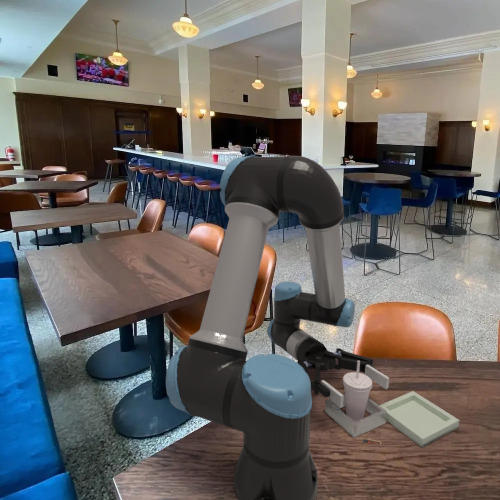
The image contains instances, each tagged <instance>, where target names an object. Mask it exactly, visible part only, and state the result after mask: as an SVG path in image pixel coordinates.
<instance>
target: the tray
mask: <svg viewBox="0 0 500 500" xmlns="http://www.w3.org/2000/svg"><path fill="white" fill-rule="evenodd" d="M378 405H379V404H378ZM379 406H381V407H382V408H383V409H385V410H386V411H387V419H386V422H388V423H389V424H390V425H392V427H394V428H396V429H397V430H398V431H399V432H401V433H402V434H404V435H405V436H406V437H407V438H409V439H410V440H411V441H412V442H414V443H415V444H417V445H418V446H419V447H421V448H424V447H426V446H427V445H429V444H432V443H434V442H435V441H436V440H439V439H440V438H442V437H444V436H446V435H448V434H450V433H452V432H454V431H455V430H458V429H459V426H460V419H458V418H457V417H455V416H454V415H452V414H451V413H449V412H447V411H446V410H444V409H443V408H441V407H440V406H438V405H436V404H434V403H433V402H431V401H430V400H428V399H426V398H425V397H423V396H422V395H420V394H418V393H417V392H415V391H414V390H412V391H410V392H407V393H405V394H403V395H400V396H399V397H396V398H393V399H391V400H389V401H386V402H384V403H382V404H380V405H379Z"/></svg>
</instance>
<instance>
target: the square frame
mask: <svg viewBox="0 0 500 500" xmlns="http://www.w3.org/2000/svg"><path fill="white" fill-rule="evenodd" d="M341 394H342V395H344V398H343V407H341V408H340V407H339V406H337V405H336V404H335V403H334V402H333V401H331V400H330V399H329V398H328V399H326V400H325V401H324V404H325V405H324V413H325V414H327V415H328V416H329V417H330V418H331V419H333V420H334V422H335V423H337V424H338V425H339V426H340V427H341V428H342V429H344V430H345V432H347V433H348V434H349V435H350V436H351V437H352V438H357V437H359V436H361V435H363V434H365V433H368V432H369V431H372V430H375V429H376V428H378V427H380V426H383V425H385V424H386V423H387V421H386V419H387V411H386V410H385V409H383V408H382V407H381V406H379V404H377V403H376V402H375V401H374V400H372V398H370V397H368V400H367V405H366V409H365V412H368V413H369V414H370V415H368V416H366V417H364V418H363V419H361V420H359V421H357V422H354V421H353V420H352V419H351V418H349V417H348V416H347V415H346V412H344V411H342V410H341V409H342V408H344V407H345V408H346V402H345V392H344V393H341Z"/></svg>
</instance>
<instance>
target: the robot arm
mask: <svg viewBox="0 0 500 500" xmlns="http://www.w3.org/2000/svg"><path fill="white" fill-rule="evenodd" d="M219 188H220V192H219V196H220V200H221V202H222V204H223V206H224V212H225V214H226V215H227V217H228V219H229V220H228V221H227V222H228V223H227V225H226V226H227V227H226V231H225V234H224V237H223V242H222V246H221V248H220V249H221V250H220V253H219V256H218V259H217V265H216V268H215V271H214V275H213V279H212V283H211V286H210V290H209V293H208V294H209V295H208V298H207V301H206V305H205V309H204V311H203V312H204V313H203V316H202V320H201V324H200V326H199V327H200V328H199V330H198V331H196V332H195V333H193V334H192V335H190V336H189V337H188V338H189V339H188V341H187V344H186V345H183V346H180V347H179V348H178V349H177V350H175V352H174V355H172V356H171V358H170V361H169V363H168V366H167V369H166V374H165V375H166V376H165V388H166V394H167V396H168V400H169V402H170V403H171V405H172V406H173V407H174V408H176V409H178V410H180V411H183V412H184V413H186V414H188V415H189V416H191V417H198V418H201V419H204V420H206V421H209V422H212V423H215V424H218V425H220V426H224V427H226V428H230V429H232V430H236V431H238V432H241V433H243V435H242V436H243V446H242V448H241V451H240V453H239V457H238V459H237V461H236V463H235V466H234V472H233V473H234V474H233V481H234V482H233V483H234V491H235V494H236V497H237V499H238V500H316V498H317V493H318V485H319V484H318V482H319V481H318V480H319V479H318V472H317V471H318V470H317V468H316V464H315V461H314V459H313V455H312V453H311V450H310V436H311V416H312V415H311V413H312V408H313V407H312V406H313V398H312V397H313V396H312V391H313V394H315V395H320V394H321V396H323V397H324V398H328V399H330V400H331V401H333V402H334V403H335V404H336V405H337V406H339V407H340V409H342V408H344V407H343V398H344V395H342V394H343V393H341V392H340V391H339V390H337V389H336V388H335V387H333V386H332V385H331V384H330V383H328V382H327V381H325V380H324V379H322V380H321V372H324V373H326V372H328V371H329V370H341V369H342V370H343V369H344V370H347V371H353V372H357V361H358V360H359V361H360V367H359V373H362V374H364V375H366V376H368V377H369V378H370V379H371V380H372V382H374V383H376V384H377V385H379V386H381V387H382V388H383V389H385V390H388V389H389V384H390V377H389V376H387V375H386V374H384V373H382V372H381V370H379V369H377V368H376V367H374V360H373V358H369V357H366V356H362V355H360V354H359V355H358V354H356V353H352V352H349V351H346V350H344V349H341V348H340V347H339V348H338V347H337V348H336V349H335V351H334V352H332V351H330V350H328V349H327V347H326V346H325V344H324V343H322V342H321V341H320V340H318V339H316V338H315V337H314V336H312V335H311V334H309V333H308V332H306V331H304V330H303V329H301V328H300V327H301V326H300V325H301V320H303V321H308V322H312V323H313V322H314V323H318V324H324V325H328V326H333V327H339V328H340V327H341V328H350V327H351V326H352V324H353V322H354V317H355V312H356V310H355V307H356V304H355V302H354V300H352V299H349V298H347V297H346V292H345V280H344V279H345V278H344V277H345V276H344V267H343V266H344V265H343V264H344V263H343V253H342V252H343V250H342V238H341V225H340V224H341V223H342V221H343V220H344V218H345V212H344V202H343V197H342V195H341V192H340V190H339V187H338V186H337V184H336V182H335V181H334V179H333V178H332V176H331V175H330V174H329V173H328V171H327V170H326V169H325V168H324V167H323V166H322V165H321V164H319V163H318V162H316V161H315V160H313V159H311V158H308V157H306V156H300V155H292V156H257V155H248V156H241V157H236V158H233V159H232V160H231V161H230V162H229V163H228V164H226V166H225V168H224V170H223V173H222V175H221V178H220V183H219ZM280 213H289V214H290V213H293V214H294V213H295V214H296V215H298V220H299V223H300V225H301V226H302V227H303V228H305V229H304V230H305V237H306V243H307V248H308V249H307V250H308V256H309V261H310V269H311V275H312V282H313V288H314V293H310V292H305V291H303V290H302V285H301V284H300V283H298V282H295V281H282V282H279V283H277V284H276V285H275V286H274V295H273V319H271V320H270V321H269V324H268V326H267V328H266V329H267V330H266V332H267V336H268V338H269V339H270V340H271V341H272V342H273V343H274V344H275V346H278V347H279V348H281V349H282V350H283V351H285V352H286V353H288V354H289V355H290V356H291V357H292V358H294V359H295V360H296V361H295V360H293V359H291V358H289V357H286V356H283V355H280V354H276V353H268V354H266V355H265V354H264V353H261V354H260V353H259V354H256V355H253V356H252V357H249V358H248V360H247V357H248V352H249V350H248V348H247V347H246V344H245V343H244V341H243V340H244V335H245V330H246V326H247V322H248V319H249V314H250V311H251V310H250V309H251V305H252V302H253V301H252V300H253V297H254V294H255V293H254V292H255V288H256V285H257V284H256V283H257V280H258V276H259V271H260V267H261V264H262V263H261V262H262V259H263V254H264V250H265V246H266V242H267V238H268V233H269V229H270V228H272V227H273V226H275V225H277V224H278V221H279V216H280ZM336 359H337V361H336ZM309 370H314V380H313V381H312V379H311V375H310V373H309V372H310V371H309ZM341 407H342V408H341Z"/></svg>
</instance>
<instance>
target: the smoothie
mask: <svg viewBox="0 0 500 500" xmlns="http://www.w3.org/2000/svg"><path fill="white" fill-rule="evenodd" d="M359 367H360V361H359V360H358V361H357V371H353V372H347V373H345V374H344V375H343V377H342V384H343V386H344V387H343V388H344V393H345V402H346V406H345V414H346V415H347V416H348V417H349V418H351V419H352V420H353V421H354V422H357V421H359V420H361V419H363V418H365V414H366V410H365V409H366V405H367V400H368V398H369V396H370V391H371V390H372V388H373V380H371V379H370V378H369V377H368V376H366V375H365V373H363V372H359Z"/></svg>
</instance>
